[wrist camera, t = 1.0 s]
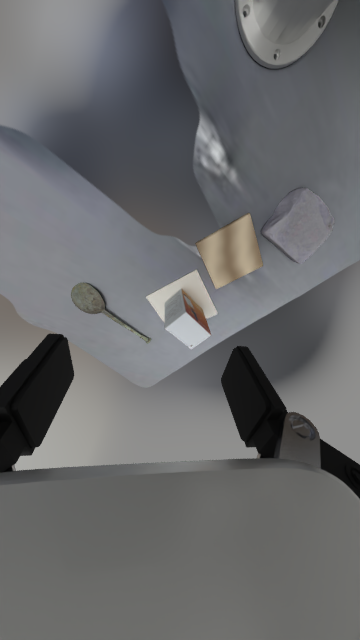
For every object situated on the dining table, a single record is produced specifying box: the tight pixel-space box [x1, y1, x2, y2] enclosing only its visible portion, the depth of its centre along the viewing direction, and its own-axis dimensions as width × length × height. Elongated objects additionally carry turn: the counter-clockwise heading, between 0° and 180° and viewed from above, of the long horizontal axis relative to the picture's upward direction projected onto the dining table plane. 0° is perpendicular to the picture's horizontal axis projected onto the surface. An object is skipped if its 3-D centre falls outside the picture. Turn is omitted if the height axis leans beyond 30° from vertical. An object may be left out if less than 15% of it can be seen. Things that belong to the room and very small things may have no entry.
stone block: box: [261, 188, 334, 264], centre depth 35 cm, size 12×5×10 cm
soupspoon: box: [71, 283, 151, 344], centre depth 43 cm, size 22×3×7 cm
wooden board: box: [195, 213, 263, 289], centre depth 37 cm, size 11×11×1 cm
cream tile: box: [146, 269, 218, 323], centre depth 44 cm, size 13×13×1 cm
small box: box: [165, 289, 211, 349], centre depth 39 cm, size 8×6×10 cm
